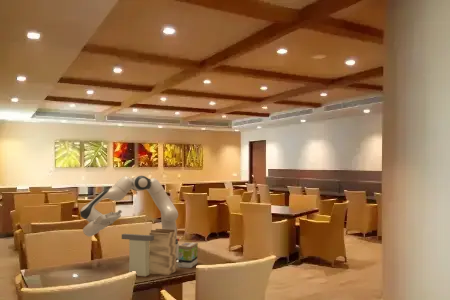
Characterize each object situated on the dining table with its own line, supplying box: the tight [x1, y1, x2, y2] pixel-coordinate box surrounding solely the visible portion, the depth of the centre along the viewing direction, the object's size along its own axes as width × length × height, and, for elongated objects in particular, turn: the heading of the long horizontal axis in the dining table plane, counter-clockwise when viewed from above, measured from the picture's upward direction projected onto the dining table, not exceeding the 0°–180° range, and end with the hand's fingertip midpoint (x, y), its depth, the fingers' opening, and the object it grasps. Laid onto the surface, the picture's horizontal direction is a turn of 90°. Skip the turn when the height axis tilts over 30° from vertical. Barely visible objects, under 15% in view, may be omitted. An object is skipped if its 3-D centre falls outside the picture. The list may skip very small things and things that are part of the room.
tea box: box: [177, 242, 199, 269], centre depth 285 cm, size 15×10×15 cm, turn 168°
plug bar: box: [121, 233, 154, 241], centre depth 262 cm, size 3×22×3 cm, turn 68°
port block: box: [128, 239, 150, 277], centre depth 260 cm, size 4×12×22 cm, turn 68°
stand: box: [148, 228, 177, 276], centre depth 267 cm, size 10×14×28 cm
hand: (116, 211), depth 272 cm, fingers open, 8 cm apart
